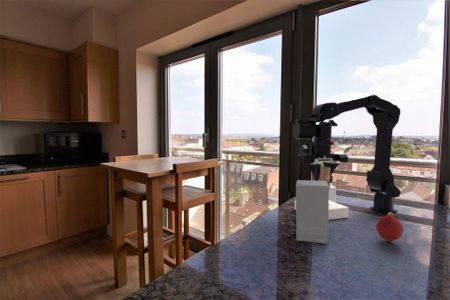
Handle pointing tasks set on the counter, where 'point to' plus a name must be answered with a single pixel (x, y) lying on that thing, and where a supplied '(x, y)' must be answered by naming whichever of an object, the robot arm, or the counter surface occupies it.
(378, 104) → the robot arm
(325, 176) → the peg
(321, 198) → the skincare box
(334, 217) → the socket block
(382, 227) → the onion
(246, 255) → the counter surface
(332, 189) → the medicine bottle
